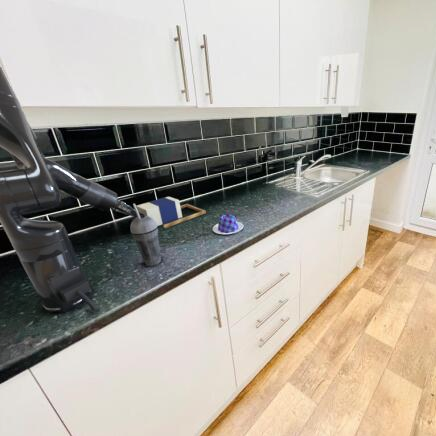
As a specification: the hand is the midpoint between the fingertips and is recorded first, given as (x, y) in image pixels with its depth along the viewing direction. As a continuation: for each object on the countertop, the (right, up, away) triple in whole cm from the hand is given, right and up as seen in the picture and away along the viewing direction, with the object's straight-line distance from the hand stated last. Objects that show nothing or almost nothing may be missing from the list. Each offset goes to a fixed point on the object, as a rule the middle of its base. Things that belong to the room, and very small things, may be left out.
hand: (142, 216), depth 102 cm
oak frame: (+9, 0, +11) cm, 14 cm away
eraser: (+4, -1, +8) cm, 9 cm away
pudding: (+35, -5, 0) cm, 35 cm away
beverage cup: (+16, -14, -21) cm, 30 cm away
